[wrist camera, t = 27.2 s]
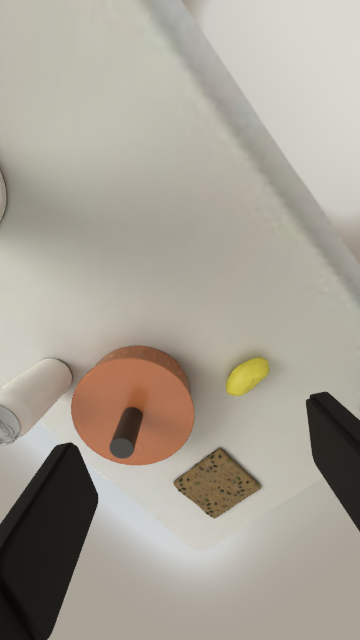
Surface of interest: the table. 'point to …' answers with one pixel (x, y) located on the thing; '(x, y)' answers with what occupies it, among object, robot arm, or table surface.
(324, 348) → the table surface
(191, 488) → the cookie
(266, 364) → the lemon
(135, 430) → the lid
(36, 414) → the can
